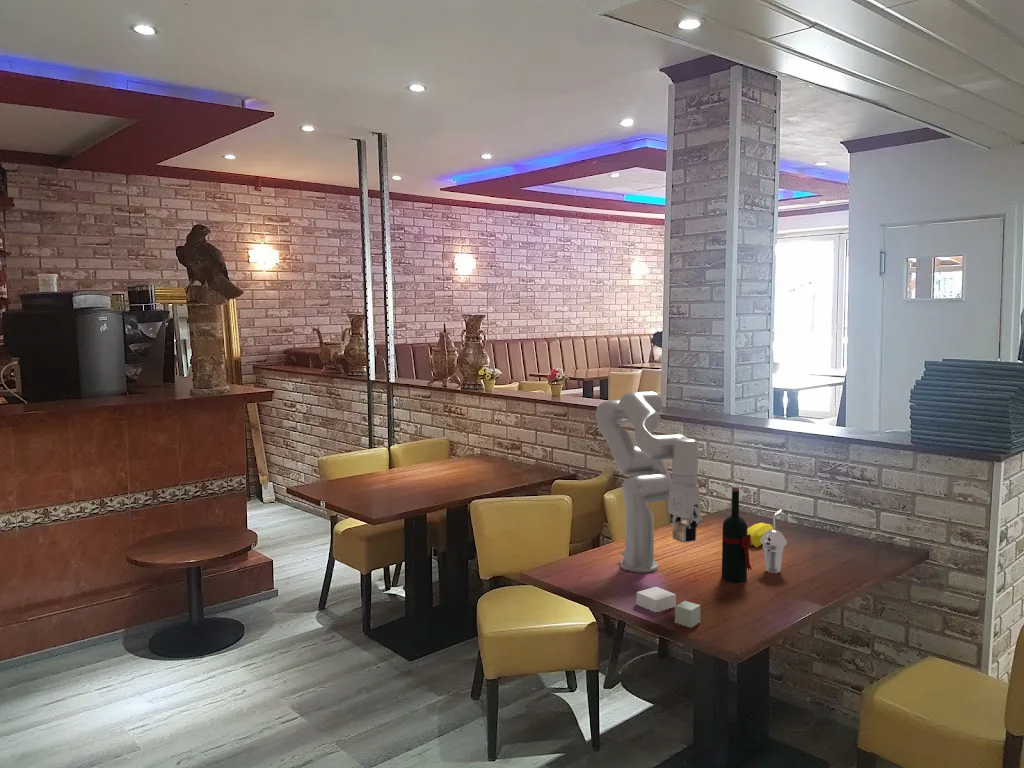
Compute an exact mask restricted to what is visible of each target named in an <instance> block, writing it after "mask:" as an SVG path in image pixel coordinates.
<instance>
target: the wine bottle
mask: <svg viewBox="0 0 1024 768" xmlns="http://www.w3.org/2000/svg"><path fill="white" fill-rule="evenodd" d="M731 490H732V491H731V515H730V516H728V517H726V518H725V519H724V520H723V523H722V543H721V544H722V546H721V547H722V548H721V551H722V552H721V580H722V579H723V580H722V581H724V582H725V583H726V582H727V583H730V584H744V583H746V582H748V572H749V571H750V570H751V571H753V570H752V566H751V564H750V554H749V551H750V550H749V547H751V546H750V544H751V536H750V535H747V529H748V524H747V522H746V520H745V519H744V518H743V517H741V516H740V486H739V487H738V486H732V487H731Z"/></svg>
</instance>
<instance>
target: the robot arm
mask: <svg viewBox="0 0 1024 768" xmlns="http://www.w3.org/2000/svg"><path fill="white" fill-rule="evenodd" d="M663 405H664V404H663V401H662V398H661V396H660V395H659V394H658V393H657V392H654V391H648V390H647V391H631V392H627V393H624V395H623V396H621V398H620V399H612V400H611V399H610V400H606V401H603V402H601V403H600V404H599V405H598V406H597V408H596V411H595V419H596V425H597V428H598V430H599V432H600V433H601V435H602V436H603V438H604V441H606V443H607V445H608V447H609V449H610V452H611V455H612V457H613V460H614V463H615V465H616V467H617V469H618V471H619V473H620V474H622V475H623V476H628V477H626V478H625V479H624V480H623V482H622V484H621V485H622V486H621V489H622V490H621V491H622V496H623V500H624V501H623V502H624V519H625V520H624V522H625V525H624V527H625V528H624V529H625V530H624V531H625V532H624V534H625V535H624V547H625V548H624V550H621V551H620V555H622V556H623V560H621V561H620V568H621V569H622V570H624V571H627V572H632V573H640V574H643V573H653V572H655V571H656V570H658V569H659V564H658V562H657V561H656V560H654V558H655V557H654V556H655V555H654V552H655V551H654V547H655V545H654V544H655V543H654V542H655V540H654V539H655V538H654V537H655V526H654V525H655V524H654V523H655V521H654V520H655V519H654V518H655V517H654V514H653V511H652V510H651V508H650V507H649V505H648V504H649V503H654V502H663V501H667V511H668V513H669V515H670V518H671V519H672V520H671V522H672V523H673V522H679V521H683V520H686V521H687V527H688V528H686V541H687V542H686V543H690V542H689V541H691V542H694V540H695V533H696V534H697V528H698V526H699V524H701V523H702V522H703V521H704V520H703V517H702V515H701V497H700V488H699V484H698V482H699V480H698V479H699V474H698V473H699V443H698V441H697V440H696V439H694V438H689V437H687V436H685V435H684V434H681V433H679V434H678V433H677V434H675V433H674V434H661V435H660V434H659V435H653V434H652V433H654V432H656V430H657V429H658V428H659V426H660V425H661V418H662V417H661V415H660V414H661V412H662V410H663ZM622 424H632V425H634V427H635V430H634V438H635V442H636V444H635V442H634V440H633V438H632V436H631V434H630V433H629V432H628V431H627V430H626V429H625V428H623V427H622V426H621V425H622ZM665 460H672V461H671V462H672V465H671V470H672V471H671V474H670V472H669V470H668V468H667V465H666V463H665ZM691 522H692V523H691Z"/></svg>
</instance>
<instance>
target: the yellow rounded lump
mask: <svg viewBox="0 0 1024 768" xmlns="http://www.w3.org/2000/svg"><path fill="white" fill-rule="evenodd" d="M768 530H773V525H772V524H770V523H765V522H759V523H754V524H753V525H751V526H749V527H747V535H750V536H751V544H750V546H749V547H751V546H754V547H756V546H759V547H761V544H762V543H761V542H760V540H761V538H762V537H763V535H764V533H765V532H766V531H768ZM762 545H763V544H762ZM756 548H757V547H756Z"/></svg>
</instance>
